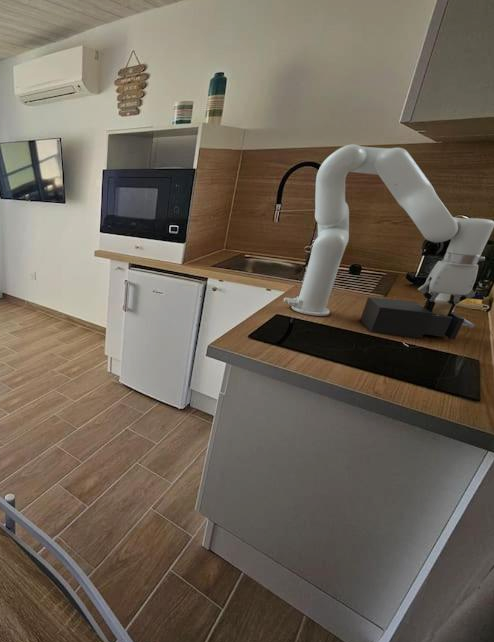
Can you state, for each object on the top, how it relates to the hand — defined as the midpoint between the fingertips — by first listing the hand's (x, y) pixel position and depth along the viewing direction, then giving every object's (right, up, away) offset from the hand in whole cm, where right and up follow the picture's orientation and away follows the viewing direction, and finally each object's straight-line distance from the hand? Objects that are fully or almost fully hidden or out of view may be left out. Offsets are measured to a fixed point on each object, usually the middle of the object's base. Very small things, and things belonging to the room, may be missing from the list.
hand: (436, 312), depth 124 cm
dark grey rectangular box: (-9, -6, +7) cm, 13 cm away
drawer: (0, -7, +3) cm, 7 cm away
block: (0, 0, 0) cm, 0 cm away
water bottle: (+13, -3, +13) cm, 19 cm away
